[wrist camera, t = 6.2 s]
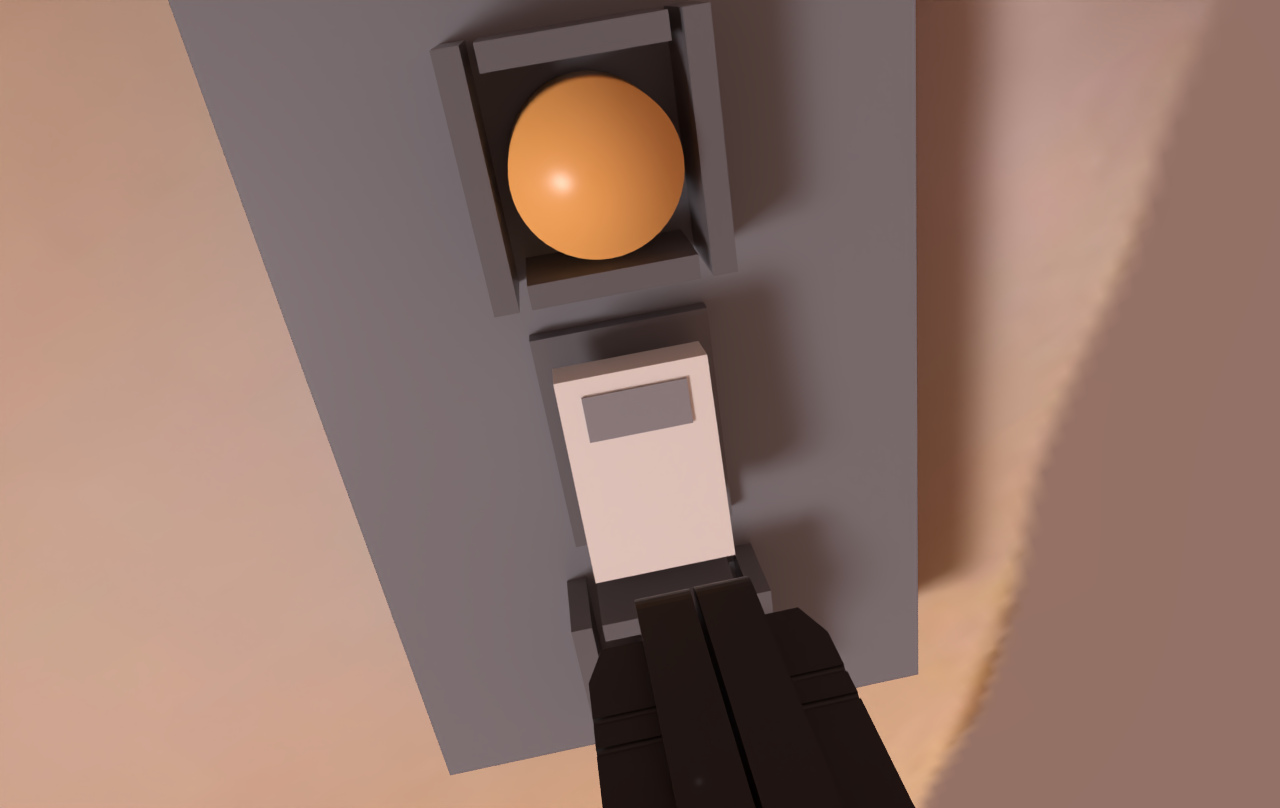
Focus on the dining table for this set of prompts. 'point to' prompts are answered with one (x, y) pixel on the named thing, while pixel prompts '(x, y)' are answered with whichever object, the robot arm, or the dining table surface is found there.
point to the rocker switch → (646, 460)
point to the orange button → (594, 165)
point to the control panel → (587, 314)
